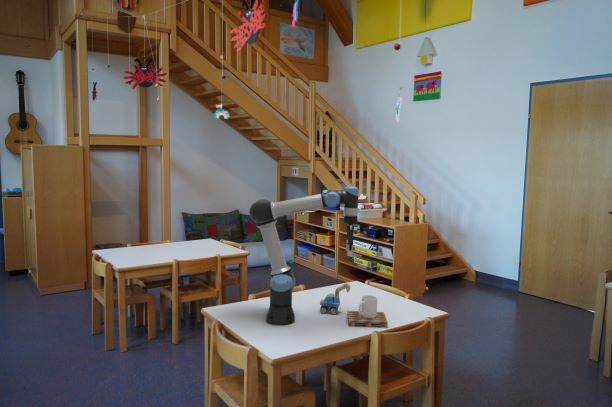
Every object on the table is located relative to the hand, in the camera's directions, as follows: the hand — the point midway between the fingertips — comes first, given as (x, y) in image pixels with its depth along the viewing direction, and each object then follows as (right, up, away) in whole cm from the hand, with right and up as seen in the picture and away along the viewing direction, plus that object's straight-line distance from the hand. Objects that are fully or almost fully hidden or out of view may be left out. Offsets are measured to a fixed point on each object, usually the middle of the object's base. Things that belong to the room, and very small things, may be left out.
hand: (349, 253), depth 269 cm
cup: (+8, -33, -7) cm, 35 cm away
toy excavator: (-8, -34, +9) cm, 36 cm away
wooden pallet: (+9, -36, -6) cm, 37 cm away
